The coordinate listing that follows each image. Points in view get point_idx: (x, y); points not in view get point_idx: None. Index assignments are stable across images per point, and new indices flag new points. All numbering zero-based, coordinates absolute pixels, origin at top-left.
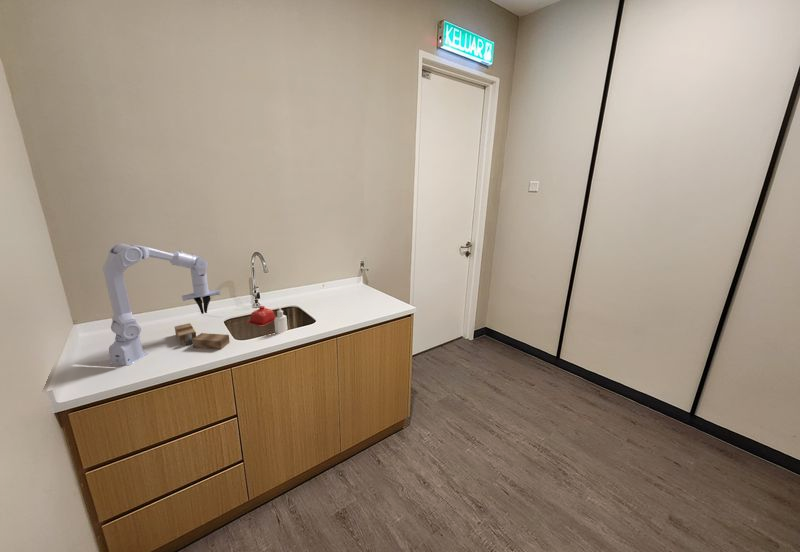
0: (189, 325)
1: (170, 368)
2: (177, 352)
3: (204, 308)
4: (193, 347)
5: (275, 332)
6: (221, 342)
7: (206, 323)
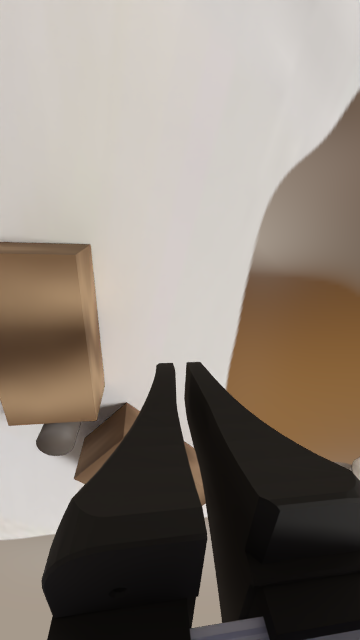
0: (68, 300)
1: (11, 522)
2: (24, 443)
3: (194, 415)
4: (84, 441)
5: (356, 470)
6: None
7: (202, 146)
